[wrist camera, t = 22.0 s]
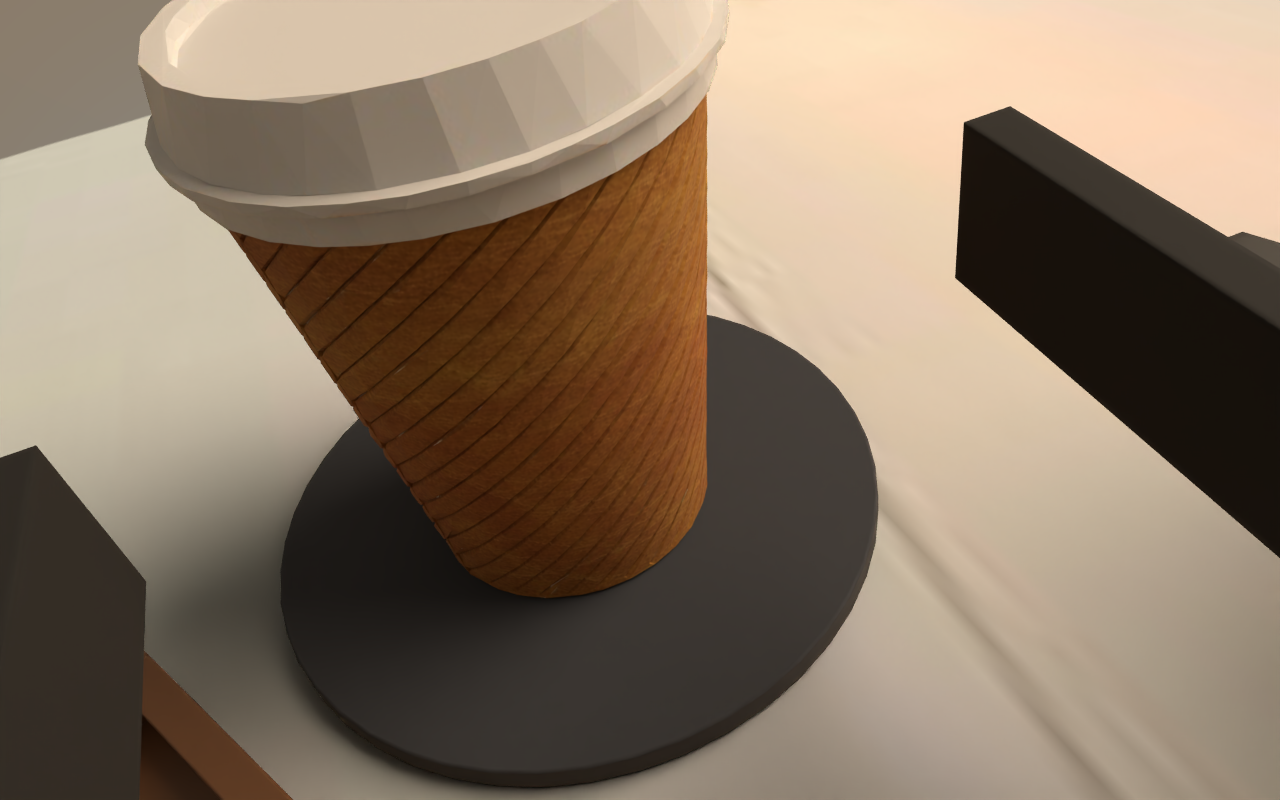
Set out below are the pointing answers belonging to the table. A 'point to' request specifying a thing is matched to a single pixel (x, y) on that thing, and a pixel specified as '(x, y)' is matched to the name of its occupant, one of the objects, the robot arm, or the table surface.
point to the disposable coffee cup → (476, 246)
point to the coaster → (591, 597)
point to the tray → (192, 750)
